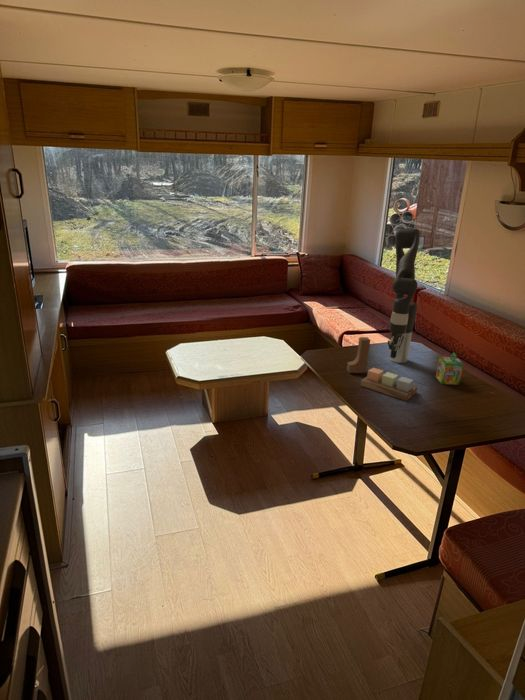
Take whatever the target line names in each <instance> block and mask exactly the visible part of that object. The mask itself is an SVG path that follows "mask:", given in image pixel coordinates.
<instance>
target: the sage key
mask: <svg viewBox="0 0 525 700" xmlns="http://www.w3.org/2000/svg"><path fill="white" fill-rule="evenodd" d="M398 379H399V374H396V373H392V372H389V371H386V372H385V373H383V375H382V382H381V384H383V385H386V386H389V387H394V386H396V385H397V380H398Z"/></svg>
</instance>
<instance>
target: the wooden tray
mask: <svg viewBox="0 0 525 700" xmlns="http://www.w3.org/2000/svg"><path fill="white" fill-rule="evenodd" d="M381 382H382V380H381V381H380V382H378V383H377V382H374V381H371V380H368V379H367V376H365V377H364V378H362V379H361V380H360V386H361V387H364V388H366V389H369V390H373V391H376V392H379V393H381V394H384V395H387V396H391V397H393V398H397V399H399V400H401V401H404V402H407V401H408V400H410V399H411V398H412V397H413V396H414V395H416V394H417V392H418V386H416V385H413V386H412V390H411V391H409V392H405V391H402V390H399V389H396V386H397V385H396V386H394V387H389V386H386V385H383V384H381Z"/></svg>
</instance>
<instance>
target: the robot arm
mask: <svg viewBox="0 0 525 700" xmlns="http://www.w3.org/2000/svg"><path fill="white" fill-rule="evenodd" d="M420 235H421V234H420V230H419V229H418V228H416V227H415V228H414V227H413V228H411V227H409V228H407V227H406V228H397V230H396V231H395V238H394V239H395V244H394V245H395V257H396V258H395V259H396V262H395V277H394V279H393V282H392V285H391V289H392V292H393V293H395V299H394V301H393V305H392V311H391V312H392V313H391V315H390V321H389V327H388V331H389V332H390V333H391V335H390V340H387V346H388V350H390V357H389V360H390V361H392V362H393V363H396V364H397V363H398V364H406V363H408V360H409V359H408V358H409V353H410V346H411V342H412V335H413V330H414V326H415V320H416V316H417V312H418V311H417V310H418V304H417V303H416V302H415V301H414V302H413V301H412V300H413V298H414V295H415V293H416V291H417V290H418V289H417V288H418V281H417V280H416V279H415V278H416V269H415V262H416V259H417V254H418V250H419V247H420V246H419V245H420ZM404 249H408V250H407V252H406V253H405V252H404ZM404 296H405V297H404Z"/></svg>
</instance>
